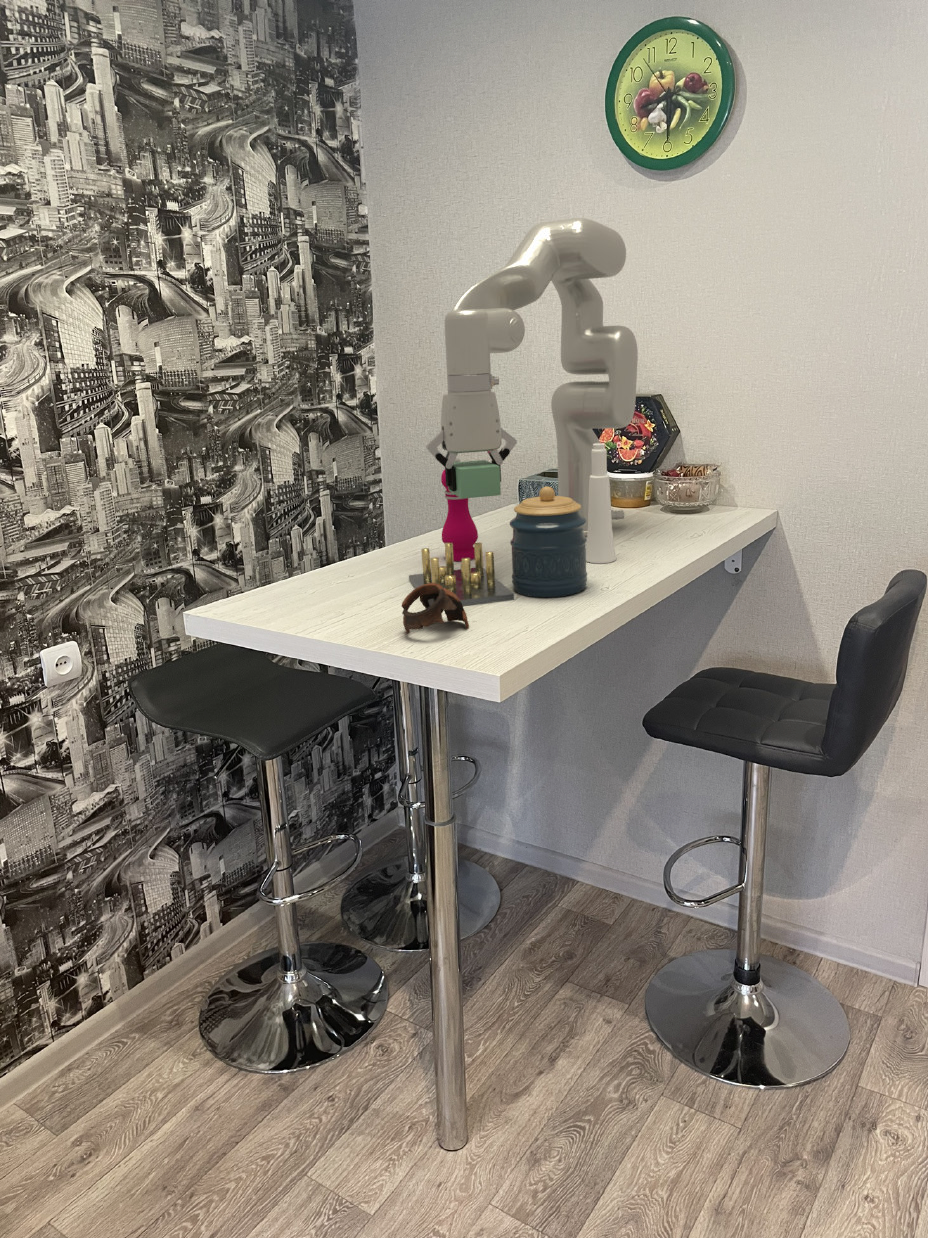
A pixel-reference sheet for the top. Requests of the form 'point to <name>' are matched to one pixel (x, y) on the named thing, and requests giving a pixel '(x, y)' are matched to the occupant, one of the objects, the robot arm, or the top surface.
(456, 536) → the pepper mill
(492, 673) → the top surface
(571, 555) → the canister
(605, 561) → the cosmetic bottle
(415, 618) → the brown curved shards
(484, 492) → the green boxy piece
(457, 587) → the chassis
